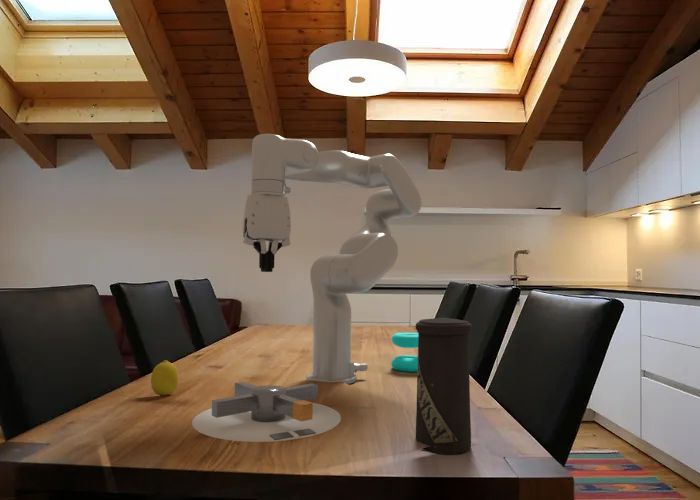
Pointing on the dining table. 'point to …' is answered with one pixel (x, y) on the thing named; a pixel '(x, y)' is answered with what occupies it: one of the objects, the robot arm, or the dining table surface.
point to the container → (443, 385)
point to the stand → (265, 426)
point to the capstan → (268, 402)
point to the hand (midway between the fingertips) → (266, 271)
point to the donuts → (405, 361)
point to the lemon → (164, 378)
